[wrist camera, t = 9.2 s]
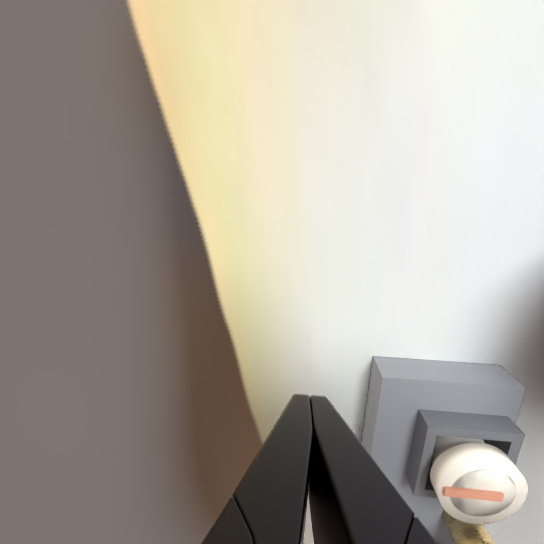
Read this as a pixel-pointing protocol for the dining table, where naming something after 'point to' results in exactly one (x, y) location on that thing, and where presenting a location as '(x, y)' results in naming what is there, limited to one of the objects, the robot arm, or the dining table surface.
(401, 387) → the mount
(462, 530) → the metal knob
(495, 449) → the white round cap
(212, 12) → the dining table surface
